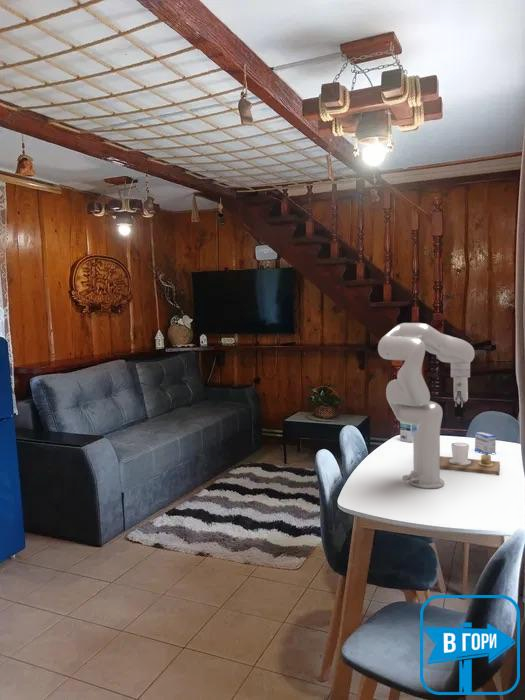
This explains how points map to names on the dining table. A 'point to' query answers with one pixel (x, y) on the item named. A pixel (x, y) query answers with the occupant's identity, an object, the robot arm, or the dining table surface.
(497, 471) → the fitting board
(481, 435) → the medicine box
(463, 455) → the white short cylinder
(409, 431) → the light bulb box
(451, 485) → the dining table surface
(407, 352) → the robot arm
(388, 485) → the dining table surface
